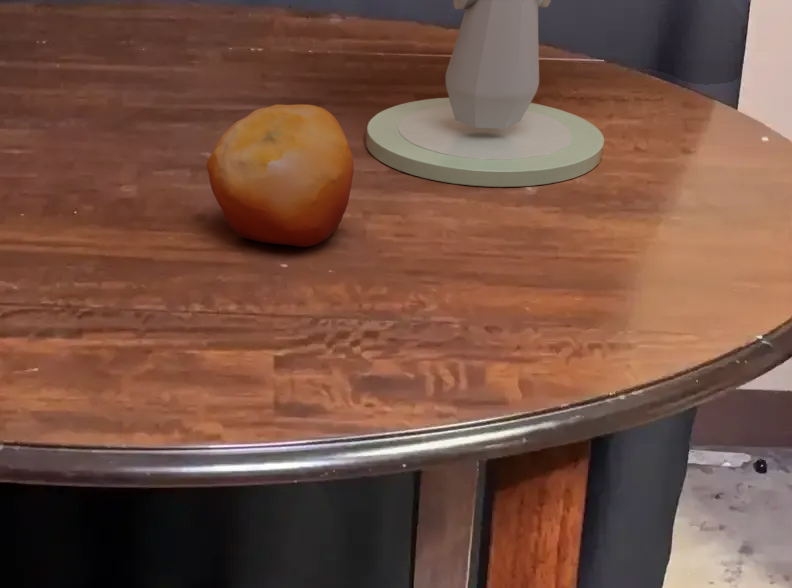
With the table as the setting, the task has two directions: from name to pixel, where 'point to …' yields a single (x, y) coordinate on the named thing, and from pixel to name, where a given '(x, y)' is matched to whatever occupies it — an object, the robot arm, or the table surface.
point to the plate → (484, 145)
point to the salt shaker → (494, 63)
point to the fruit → (283, 175)
